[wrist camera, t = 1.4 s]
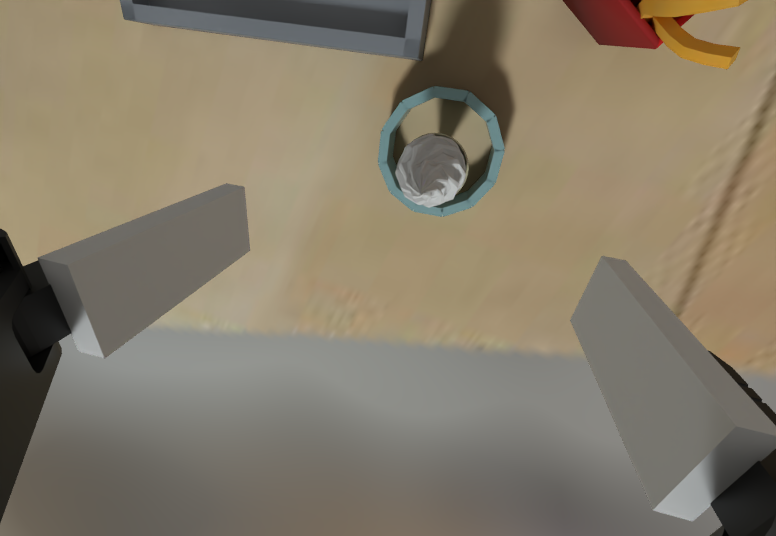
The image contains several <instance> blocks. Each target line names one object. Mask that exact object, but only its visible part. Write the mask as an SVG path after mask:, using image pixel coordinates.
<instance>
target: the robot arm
mask: <svg viewBox="0 0 776 536" xmlns="http://www.w3.org/2000/svg"><path fill="white" fill-rule="evenodd" d="M249 251H250V244H249V233H248V221H247V210H246V199H245V188H244V187H242V186H237V185H232V184H227V183H226V184H224V185H221V186H218V187H216V188H213V189H211V190H208V191H206V192H203V193H201V194H198V195H196V196H193V197H191V198H188V199H185V200H183V201H180V202H178V203H175V204H173V205H170V206H168V207H165V208H163V209H160V210H158V211H155V212H152V213H150V214H147V215H145V216H142V217H140V218H137V219H135V220H132V221H130V222H127V223H125V224H122V225H119V226H117V227H114V228H112V229H109V230H107V231H104V232H102V233H99V234H97V235H94V236H92V237H89V238H86V239H84V240H81V241H79V242H76V243H74V244H71V245H69V246H66V247H64V248H61V249H59V250H56V251H53V252H51V253H48V254H46V255H43V256H41V257H38V261H36V262H33V263H31V264H28V265H26V266H22V264H21V262H20V259H19V257H18V255H17V253H16V251H15V249H14V247H13V245H12V243H11V240H10V238H9V236H8V234H7V232H5V231H4V230H2V229H0V522H1V519H2V517H3V514H4V511H5V508H6V506H7V503H8V500H9V498H10V495H11V492H12V489H13V486H14V484H15V481H16V478H17V475H18V473H19V470H20V467H21V465H22V462H23V459H24V456H25V454H26V451H27V448H28V445H29V443H30V439H31V437H32V434H33V432H34V429H35V426H36V423H37V420H38V418H39V415H40V412H41V409H42V407H43V404H44V401H45V399H46V396H47V393H48V390H49V387H50V385H51V382H52V379H53V376H54V374H55V371H56V368H57V365H58V363H59V360H60V357H61V354H62V350H61V346H60V344H59V342H58V341H59V340H61V339H62V338H64V337H66V336H67V335H69V334H71V335H72V337H73V339H74V342H75V344H76V346H77V349H78V351H79V352H83V353H86V354H90V355H93V356H97V357H101V358H106V357H107V356H109V355H110V354H111V353H113V352H114V351H115V350H117V349H118V348H119V347H121V346H122V345H124V344H125V343H126V342H128V341H129V340H130V339H132V338H133V337H134V336H136V335H137V334H138V333H140V332H141V331H142V330H144V329H145V328H146V327H148V326H149V325H150V324H152V323H153V322H154V321H156V320H157V319H159V318H160V317H161V316H163V315H164V314H165V313H167V312H168V311H169V310H171V309H172V308H173V307H175V306H176V305H177V304H179V303H180V302H181V301H183V300H184V299H185V298H187V297H188V296H189V295H191V294H192V293H194V292H195V291H196V290H198V289H199V288H200V287H202V286H203V285H204V284H206V283H207V282H208V281H210V280H211V279H212V278H214V277H215V276H216V275H218V274H219V273H220V272H222V271H223V270H224V269H226V268H227V267H229V266H230V265H231V264H233V263H234V262H235V261H237V260H238V259H239V258H241V257H242V256H243V255H245V254H246V253H247V252H249ZM570 321H571V323H572V325H573V328H574V330H575V332H576V335H577V337H578V339H579V342H580V344H581V346H582V348H583V351H584V353H585V355H586V358H587V360H588V362H589V365H590V367H591V369H592V371H593V374H594V376H595V378H596V381H597V383H598V385H599V388H600V390H601V392H602V394H603V397H604V399H605V401H606V404H607V406H608V408H609V411H610V413H611V415H612V418H613V420H614V422H615V424H616V427H617V429H618V431H619V434H620V436H621V438H622V441H623V443H624V445H625V448H626V450H627V452H628V454H629V457H630V459H631V461H632V464H633V466H634V468H635V471H636V473H637V475H638V477H639V480H640V482H641V484H642V486H643V489H644V491H645V494H646V496H647V498H648V500H649V503H650V505H651V507H652V509H653V510H654V511H657V512H661V513H664V514H668V515H672V516H675V517H679V518H683V519H686V520H690V521H694V520H695V519H696V518H697V517H698V516H699V515H700V514H702V513H703V512H704V511H705V510H706V509H707V508H708V507H710V506H712V508H713V509H714V511H715V513H716V514H717V516H718V518H719V520H720V521H721V523H722V526H721V527H720V528H719V529H718V530H716V531H715V532H714V533H712V534H711V535H710V536H776V414H775V413H774V412H773V411H772V409H770V407H769V406H768V405H767V404H766V403H762V399H761V398H760V397H759V396H758V395H757V394H756V393H755V391H754V390H753V389H752V388H748V384H747V383H746V382H745V381H744V380H743V379H742V378H741V376H740V375H739V374H738V373H737V372H736V371H735V370H734V369H733V368H732V367H731V366H729V365H728V364H727V363H725V362H724V361H722V360H721V359H720V358H718V357H717V356H716V355H714V354H713V353H712V352H710V351H707V350H706V348H705V347H704V346H703V345H702V344H701V343H700V342H699V341H698V340H697V338H696V337H695V336H694V335H693V334H692V333H691V332H690V331H689V330H688V329H687V327H686V326H685V325H684V324H683V323H682V322H681V321H680V320H679V319H678V318H677V316H676V315H675V314H674V313H673V312H672V311H671V310H670V309H669V308H668V306H667V305H666V304H665V303H664V302H663V301H662V300H661V299H660V298H659V297H658V295H657V294H656V293H655V292H654V291H653V290H652V289H651V288H650V287H649V286H648V284H647V283H646V282H645V281H644V280H643V279H642V278H641V277H640V276H639V274H638V273H637V272H636V271H635V270H634V269H633V268H632V267H631V266H630V265H629V263H628V262H627V261H626V260H621V259H616V258H610V257H605V256H602V257H601V259H600V261H599V263H598V265H597V267H596V269H595V271H594V273H593V275H592V277H591V279H590V281H589V283H588V285H587V287H586V289H585V291H584V293H583V295H582V297H581V299H580V301H579V303H578V305H577V307H576V309H575V312H574V314H573V316H572V318H571V320H570Z"/></svg>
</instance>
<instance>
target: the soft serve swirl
mask: <svg viewBox="0 0 776 536" xmlns="http://www.w3.org/2000/svg"><path fill="white" fill-rule="evenodd" d="M468 170H469V164H468V158H467V155H466V153H465V150H464V149H463V147H462V146H461V145H460V144H459V143H458V141H456V140H455V139H454V138H452V137H450V136H448V135H445V134H441V133H429V134H425V135H422V136H420V137H418V138H417V139H414V140H413V141H412V142H411V143H410V144H408V145H407V146H406V147H405V148H404V151H403V153H402V155H401V157H400V159H399V161H398V164H397V168H396V172H395V174H396V177H397V179H398V182H399V185H400V187H401V189H402V192H403V194H404V196H405V197H406V198H407V199H409V200H411V201H412V202H414V203H416V204H418V205H424V206H426V207H428V208H430V207H433V206H436V205H440V204H442V203H444V202H447V201H450V200H453V199H454V197H455V194H456V193H458V192H459V191H460V189H461V188H462V187H463V185H464V183H465V181H466V179H467V176H468Z"/></svg>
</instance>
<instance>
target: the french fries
mask: <svg viewBox="0 0 776 536" xmlns="http://www.w3.org/2000/svg"><path fill="white" fill-rule="evenodd" d="M563 1H564V3H565V4H566V5H567V6H568V8H569V9H570V10H571V11H572V12H573V14H574V15H575V16H576V17H577V19H578V20H579V21H580V22H581V23H582V25H583V26H584V27H585V28H586V29H587V31H588V32H589V33H590V34H591V36H592V37H593V38H594V39H595V40H596V42H597V43H598V44H599V45H611V46H623V47H636V48H649V49H656V48H658V47H659V46H660V45H661V44H662V43H663V42H664V43H665V45H666V46H667V47H668V48H670V49H671V50H672V51H673V52H675V53H676V54H677V55H678V56H679V57H681V58H683V59H687V60H690V61H693V62H696V63H700V64H703V65H708V66H713V67H718V68H724V69H728V68H729V67H730V66H731V64H732V63H733V62H734V61H735V60H736V57H737V55H738V52H739V50H740V47H733V46H726V45H718V44H713V43H709V42H706V41H702V40H699V39H696V38H694V37H693V36H691V35H690V34H689V33H687V32H686V31H685V30H683V29H682V28H681V26H682V25H683V24H684V23H685V22H687V21H688V20H689V19H690V18H691V17H692V16H693V15H694V14H698V13H705V12H710V11H715V10H721V9H726V8H731V7H736V6H739V5H741V4H743V3H744V2H746V1H748V0H563Z"/></svg>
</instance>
